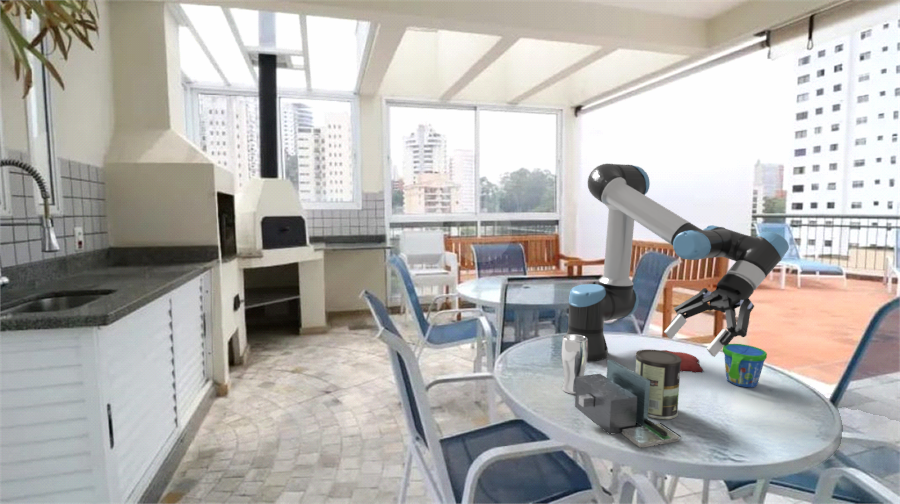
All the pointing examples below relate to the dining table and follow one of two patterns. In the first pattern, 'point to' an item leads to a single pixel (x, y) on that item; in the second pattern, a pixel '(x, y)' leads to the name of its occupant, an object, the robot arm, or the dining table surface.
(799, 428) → the dining table surface
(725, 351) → the snack cup
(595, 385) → the gauge housing
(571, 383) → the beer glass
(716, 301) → the robot arm
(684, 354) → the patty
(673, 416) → the coffee can
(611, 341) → the dining table surface
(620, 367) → the blue-grey panel with base
